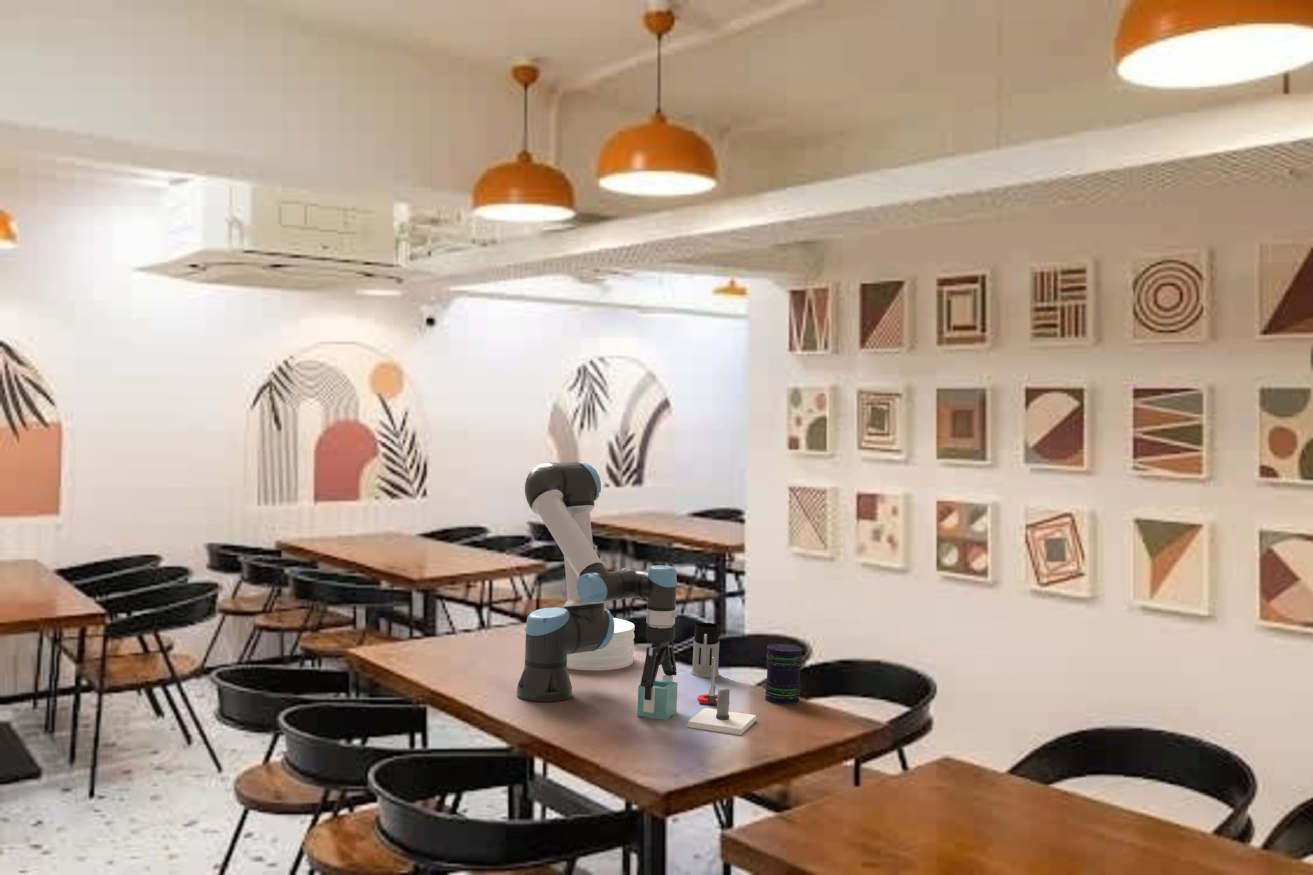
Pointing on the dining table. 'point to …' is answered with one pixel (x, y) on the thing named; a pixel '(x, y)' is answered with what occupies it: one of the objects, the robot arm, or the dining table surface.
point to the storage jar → (783, 674)
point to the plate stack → (608, 651)
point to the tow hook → (710, 689)
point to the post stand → (722, 717)
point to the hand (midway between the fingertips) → (657, 705)
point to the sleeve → (660, 700)
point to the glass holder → (705, 649)
